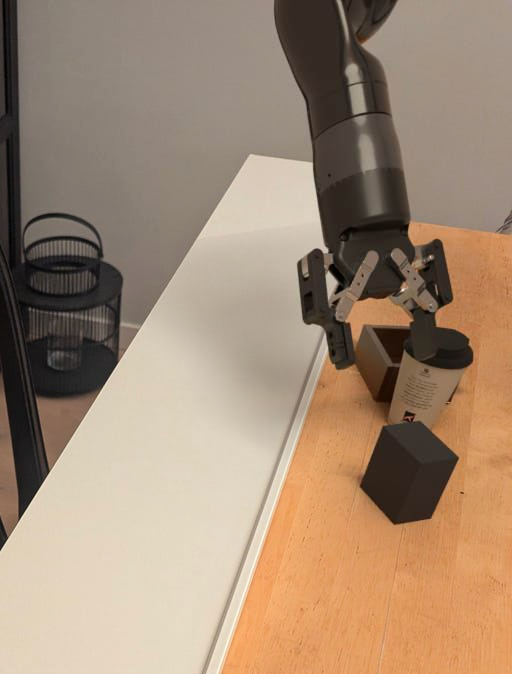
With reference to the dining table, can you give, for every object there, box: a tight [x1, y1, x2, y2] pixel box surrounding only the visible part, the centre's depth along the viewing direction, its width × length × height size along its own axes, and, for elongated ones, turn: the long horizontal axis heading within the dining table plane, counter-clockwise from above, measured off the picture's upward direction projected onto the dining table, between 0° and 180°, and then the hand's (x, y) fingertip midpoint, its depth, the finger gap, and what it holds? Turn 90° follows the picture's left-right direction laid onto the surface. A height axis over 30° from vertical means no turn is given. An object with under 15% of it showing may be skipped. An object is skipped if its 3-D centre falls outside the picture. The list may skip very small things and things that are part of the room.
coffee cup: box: [386, 326, 474, 431], centre depth 95 cm, size 7×7×10 cm
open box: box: [354, 323, 462, 403], centre depth 104 cm, size 9×10×4 cm
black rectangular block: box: [359, 421, 460, 526], centre depth 84 cm, size 4×6×8 cm, turn 17°
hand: (386, 363), depth 83 cm, fingers open, 8 cm apart
